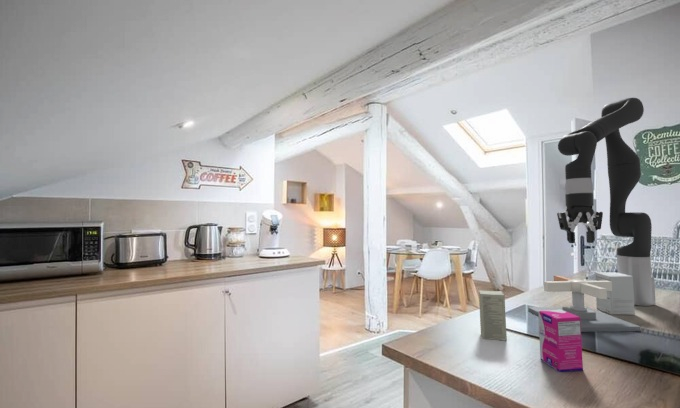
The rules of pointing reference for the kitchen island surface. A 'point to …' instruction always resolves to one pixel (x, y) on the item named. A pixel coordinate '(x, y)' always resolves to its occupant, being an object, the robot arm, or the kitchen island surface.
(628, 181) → the robot arm
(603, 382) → the kitchen island surface
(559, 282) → the star cap
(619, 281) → the supplement box
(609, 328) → the post board
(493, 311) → the skincare box
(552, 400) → the kitchen island surface
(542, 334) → the supplement box
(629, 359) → the kitchen island surface
